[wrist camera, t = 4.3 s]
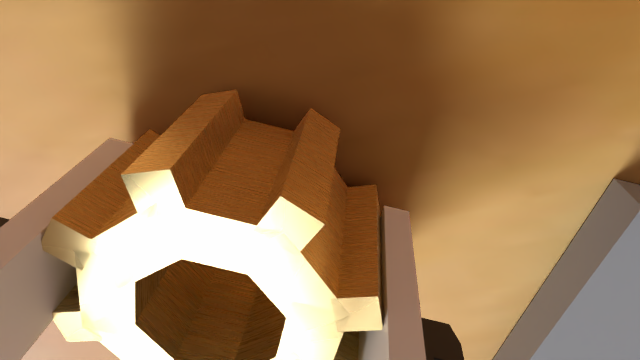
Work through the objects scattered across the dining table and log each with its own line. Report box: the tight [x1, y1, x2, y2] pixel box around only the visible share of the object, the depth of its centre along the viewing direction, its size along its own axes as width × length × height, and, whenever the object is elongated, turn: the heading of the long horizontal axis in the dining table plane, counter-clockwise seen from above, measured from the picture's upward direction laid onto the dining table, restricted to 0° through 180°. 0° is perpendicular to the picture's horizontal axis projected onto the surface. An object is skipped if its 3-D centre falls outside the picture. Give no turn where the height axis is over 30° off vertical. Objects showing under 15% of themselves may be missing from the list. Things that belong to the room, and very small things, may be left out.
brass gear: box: [41, 90, 383, 360], centre depth 12 cm, size 8×8×4 cm
